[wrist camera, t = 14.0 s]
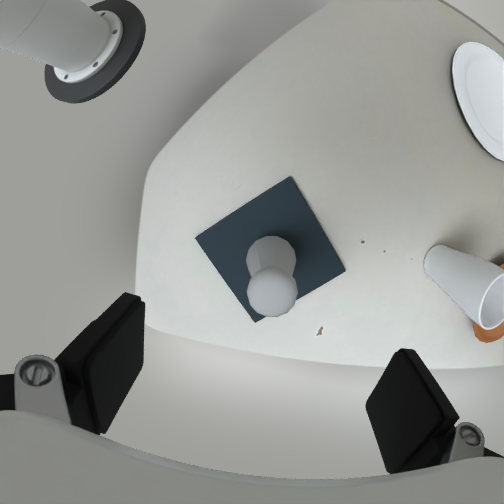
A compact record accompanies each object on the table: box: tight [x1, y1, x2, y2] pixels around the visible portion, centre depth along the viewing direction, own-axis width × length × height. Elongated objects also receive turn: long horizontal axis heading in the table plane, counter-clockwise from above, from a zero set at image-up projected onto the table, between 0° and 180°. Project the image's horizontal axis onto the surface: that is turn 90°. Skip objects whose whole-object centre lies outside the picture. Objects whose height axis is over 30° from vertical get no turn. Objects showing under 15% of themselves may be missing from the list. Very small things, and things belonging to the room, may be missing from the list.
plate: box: [452, 42, 504, 161], centre depth 26 cm, size 21×21×2 cm
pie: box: [473, 263, 504, 343], centre depth 33 cm, size 15×16×5 cm
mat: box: [195, 177, 345, 322], centre depth 36 cm, size 14×14×1 cm
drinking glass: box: [424, 245, 504, 330], centre depth 28 cm, size 7×7×15 cm
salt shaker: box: [246, 236, 298, 317], centre depth 29 cm, size 6×6×13 cm
